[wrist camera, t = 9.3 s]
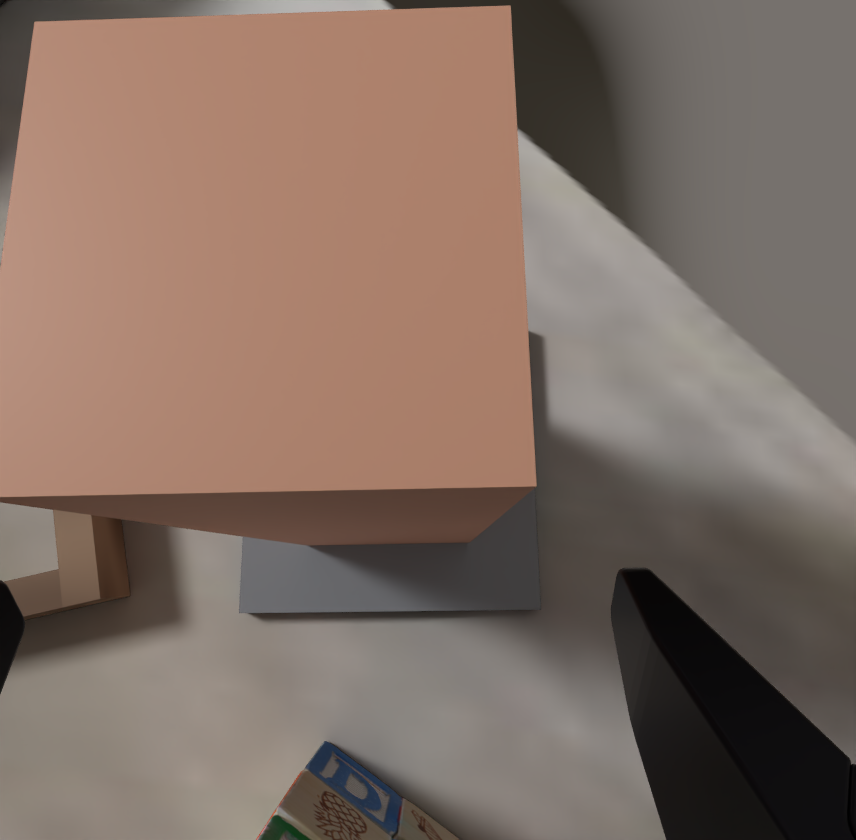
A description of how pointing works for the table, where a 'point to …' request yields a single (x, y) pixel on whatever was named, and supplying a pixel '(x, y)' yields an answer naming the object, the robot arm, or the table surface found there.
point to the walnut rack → (77, 567)
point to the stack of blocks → (346, 806)
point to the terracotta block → (270, 276)
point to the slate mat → (398, 572)
